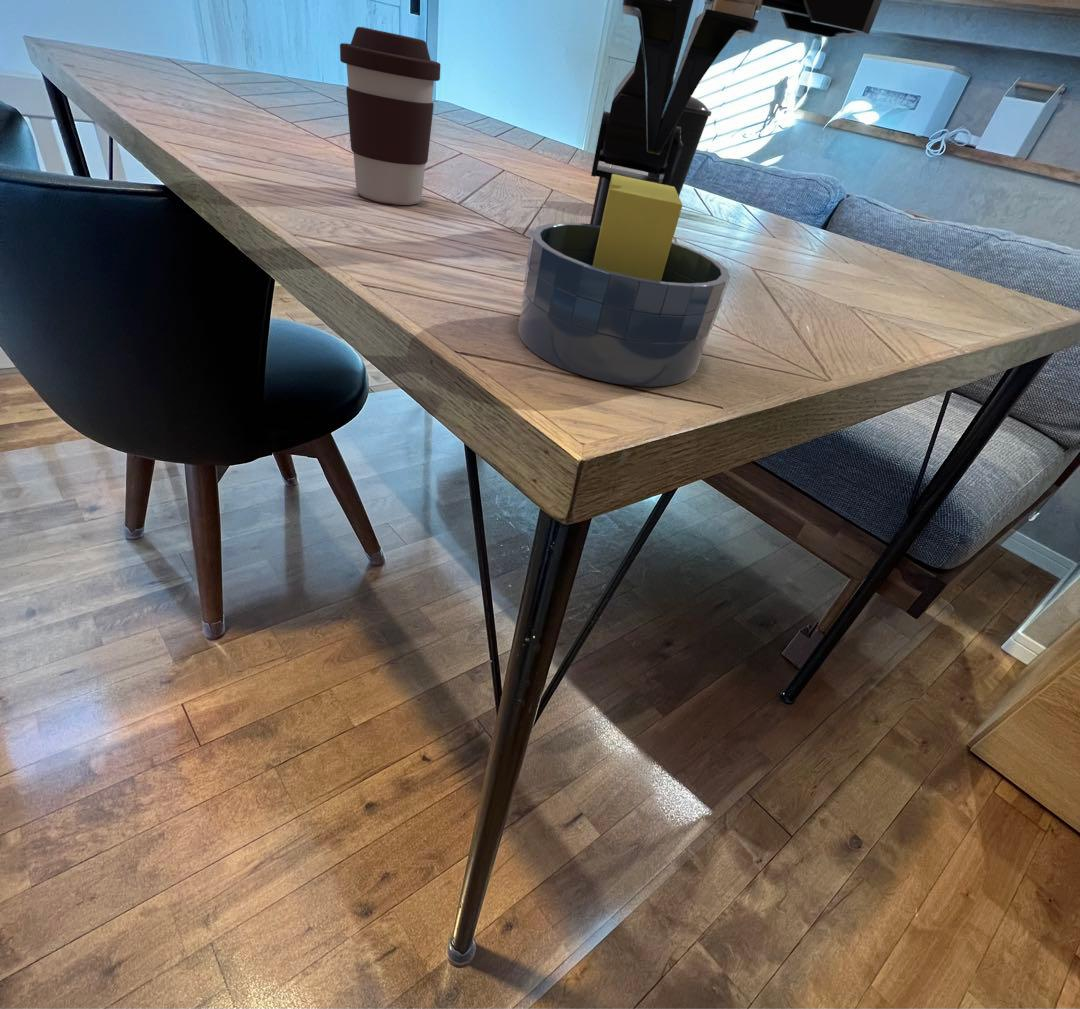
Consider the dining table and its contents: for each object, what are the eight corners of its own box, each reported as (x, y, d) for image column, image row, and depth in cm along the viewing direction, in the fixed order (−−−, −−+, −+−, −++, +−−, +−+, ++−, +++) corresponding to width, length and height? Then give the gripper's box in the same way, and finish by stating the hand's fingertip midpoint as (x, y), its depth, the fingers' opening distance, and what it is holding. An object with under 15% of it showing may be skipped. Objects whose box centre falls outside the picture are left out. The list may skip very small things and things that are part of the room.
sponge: (590, 275, 45) (612, 173, 41) (647, 287, 45) (675, 186, 41) (585, 303, 40) (609, 189, 35) (650, 317, 40) (682, 204, 36)
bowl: (483, 315, 43) (494, 220, 39) (616, 305, 50) (636, 224, 46) (594, 399, 35) (622, 290, 31) (734, 373, 42) (770, 282, 38)
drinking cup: (681, 220, 88) (729, 54, 76) (631, 209, 88) (671, 42, 77) (681, 211, 94) (726, 57, 82) (635, 201, 95) (672, 46, 83)
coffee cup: (390, 212, 62) (393, 34, 53) (324, 189, 66) (316, 17, 57) (450, 206, 70) (461, 48, 61) (388, 185, 73) (390, 32, 64)
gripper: (530, -371, 21) (483, 131, 31) (1032, -262, 21) (833, 205, 31) (558, -238, 30) (515, 119, 40) (912, -162, 30) (786, 176, 40)
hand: (652, 152), depth 37 cm, fingers closed
